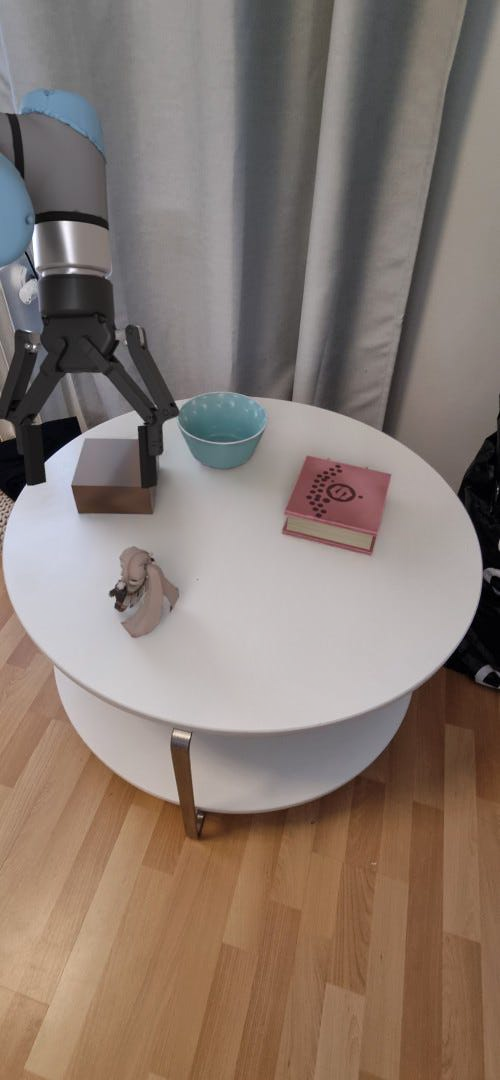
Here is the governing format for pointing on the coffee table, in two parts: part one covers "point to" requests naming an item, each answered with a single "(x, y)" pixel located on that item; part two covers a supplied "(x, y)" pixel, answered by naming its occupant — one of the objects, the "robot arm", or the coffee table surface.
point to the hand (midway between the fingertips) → (91, 485)
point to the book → (337, 505)
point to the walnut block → (111, 478)
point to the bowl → (222, 428)
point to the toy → (134, 579)
